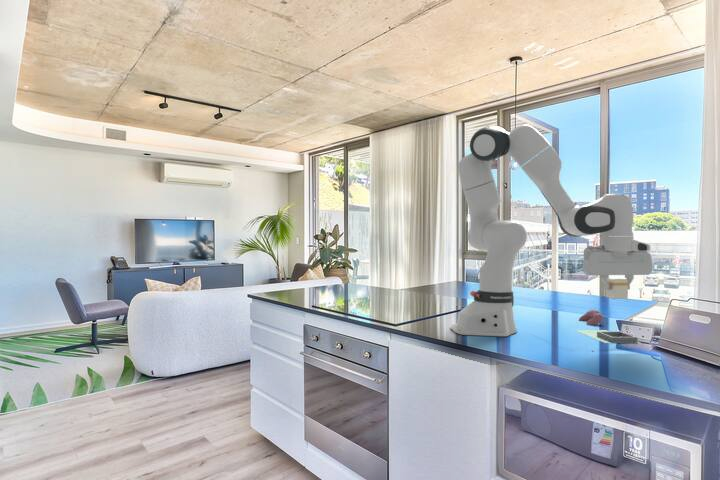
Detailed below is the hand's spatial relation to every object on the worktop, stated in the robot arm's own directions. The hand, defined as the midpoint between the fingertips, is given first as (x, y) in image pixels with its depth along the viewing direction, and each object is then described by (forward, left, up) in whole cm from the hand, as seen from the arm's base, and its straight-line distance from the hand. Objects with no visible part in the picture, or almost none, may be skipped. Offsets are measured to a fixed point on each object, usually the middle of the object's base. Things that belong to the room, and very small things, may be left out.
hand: (616, 289), depth 128 cm
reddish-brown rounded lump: (+7, +25, -17) cm, 31 cm away
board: (-1, +4, -17) cm, 17 cm away
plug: (0, 0, -3) cm, 3 cm away
